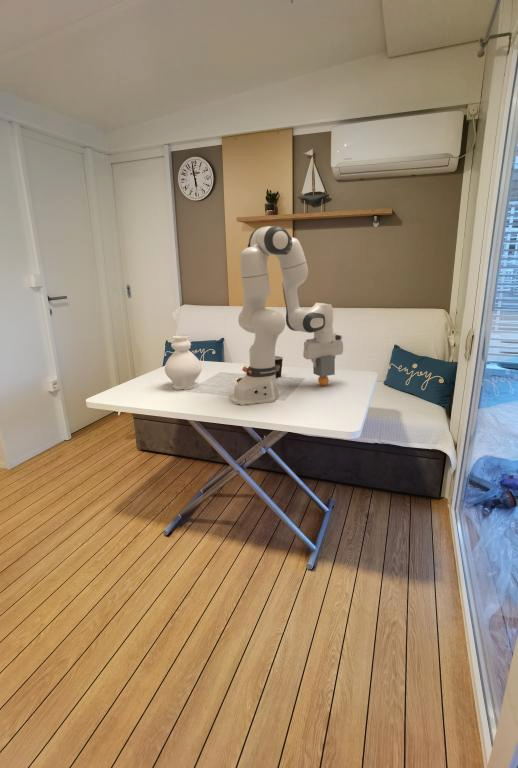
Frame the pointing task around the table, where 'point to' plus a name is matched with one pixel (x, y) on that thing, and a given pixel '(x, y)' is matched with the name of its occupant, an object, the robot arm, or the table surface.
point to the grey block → (325, 366)
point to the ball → (323, 380)
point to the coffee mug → (278, 365)
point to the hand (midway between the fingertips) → (323, 365)
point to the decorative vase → (182, 364)
